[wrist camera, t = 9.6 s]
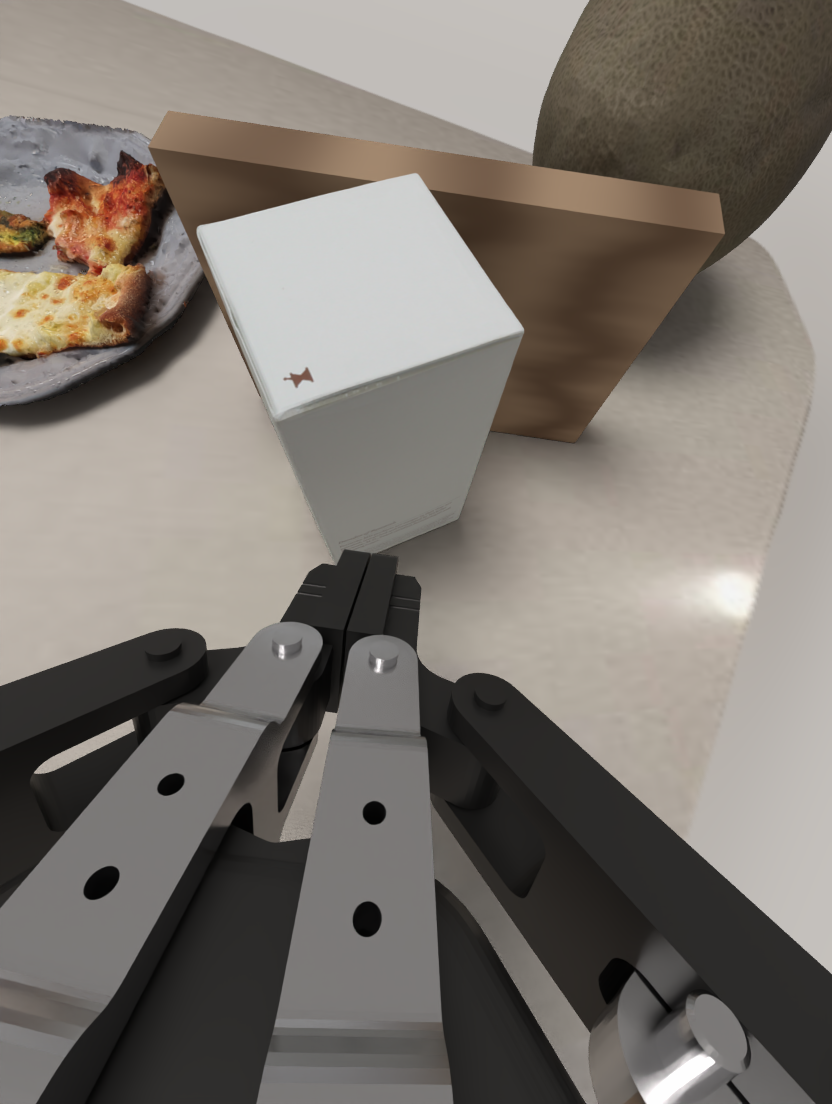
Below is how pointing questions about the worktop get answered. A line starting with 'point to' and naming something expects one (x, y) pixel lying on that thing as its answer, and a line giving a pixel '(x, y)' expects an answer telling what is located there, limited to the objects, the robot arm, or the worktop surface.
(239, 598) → the worktop surface
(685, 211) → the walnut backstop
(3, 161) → the food plate
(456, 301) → the supplement box
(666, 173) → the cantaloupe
